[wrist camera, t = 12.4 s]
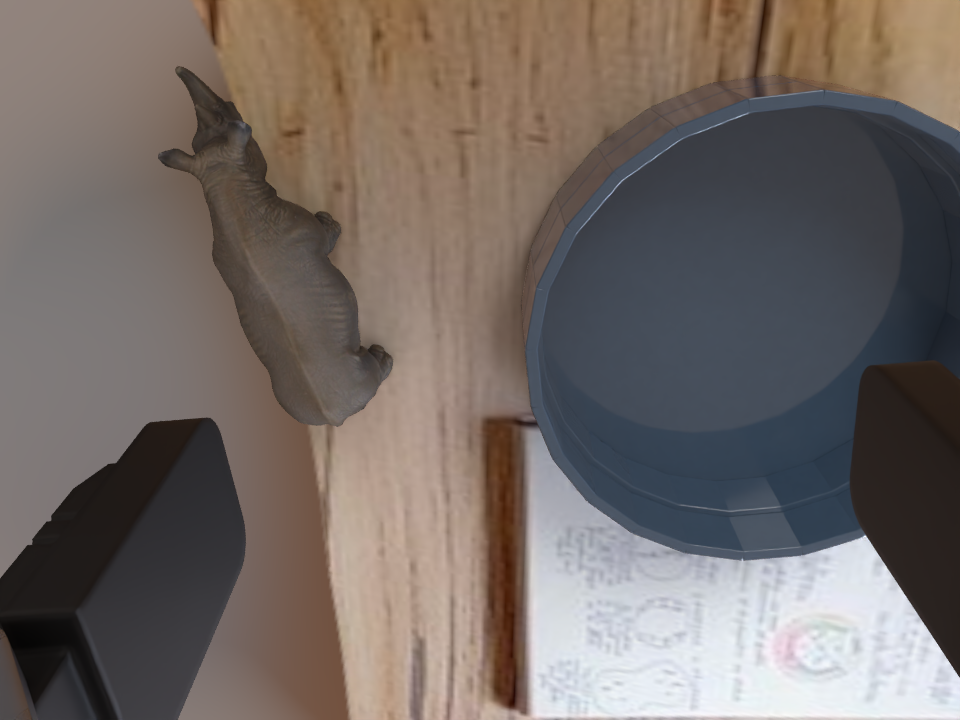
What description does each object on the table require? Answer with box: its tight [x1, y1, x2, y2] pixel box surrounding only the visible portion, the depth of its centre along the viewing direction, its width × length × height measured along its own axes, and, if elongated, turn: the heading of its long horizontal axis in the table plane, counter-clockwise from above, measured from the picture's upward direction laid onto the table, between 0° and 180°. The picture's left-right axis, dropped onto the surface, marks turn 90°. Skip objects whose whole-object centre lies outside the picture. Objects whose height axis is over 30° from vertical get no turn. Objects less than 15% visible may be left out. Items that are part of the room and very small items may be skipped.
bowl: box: [521, 75, 960, 561], centre depth 31 cm, size 17×17×5 cm
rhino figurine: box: [158, 67, 393, 427], centre depth 30 cm, size 4×14×6 cm, turn 20°
